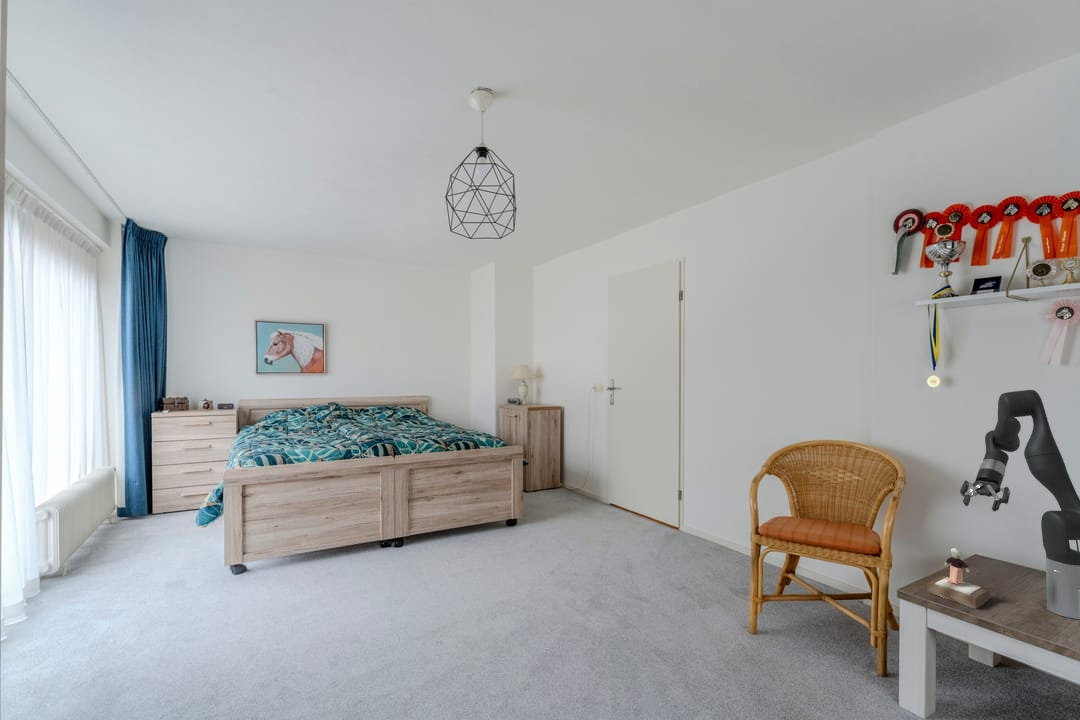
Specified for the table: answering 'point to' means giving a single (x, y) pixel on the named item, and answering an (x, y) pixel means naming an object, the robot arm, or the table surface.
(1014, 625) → the table surface
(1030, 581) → the table surface
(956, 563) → the grandmother figurine
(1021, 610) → the table surface
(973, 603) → the stand
